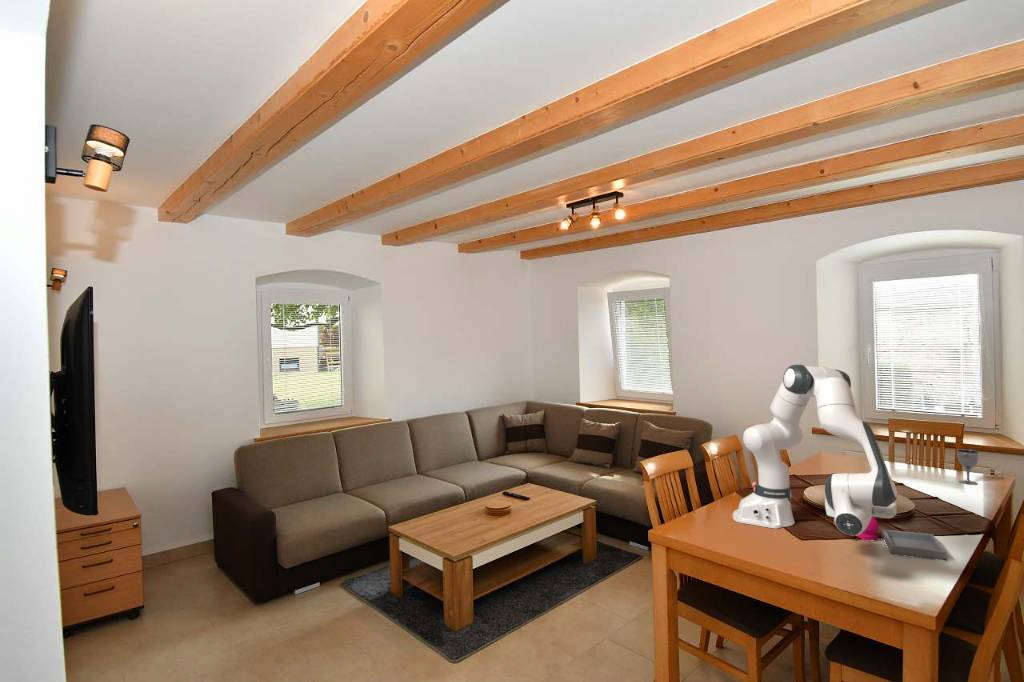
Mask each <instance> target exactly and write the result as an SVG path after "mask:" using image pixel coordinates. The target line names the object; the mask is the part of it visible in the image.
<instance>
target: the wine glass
mask: <svg viewBox="0 0 1024 682" xmlns="http://www.w3.org/2000/svg"><path fill="white" fill-rule="evenodd" d="M956 456H957V460H958V462H959V464H960V465H961V466H962V467H963V468H964V470H965V472H966V479H965V480H958V483H960V484H964V485H970V486H975V485H976V486H977V485H979V483H978V482H976V481H973V480H972V481H971V479H970V473H971V472H970V471H971V470H972V469H973V468H974V467H976V466H977V465H978V462H979V459H980V452H979V451H978V450H974V449H967V448H962V449H961V448H959V449H956Z"/></svg>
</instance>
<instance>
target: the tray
mask: <svg viewBox="0 0 1024 682" xmlns="http://www.w3.org/2000/svg"><path fill="white" fill-rule="evenodd" d="M881 537H883V538H882V540H883V539H884V540H885V541H884V540H883V541H884V543H885V542H886V543H885V545H886V544H887V545H886V547H887V546H888V547H887V549H888V548H889V549H888V550H889V552H890V554H891V555H895V554H897V555H898V556H903V555H906V556H905V557H911V556H913V558H920V557H921V559H928V558H929V560H930V559H931V560H936V559H937V561H939V560H940V561H945V562H948V551H946V549H945V548H944V547H943V545H941V543H940V542H939V540H938V539H937V538H936V536H935V535H934V534H931V533H922V532H910V531H903V530H894V529H884V528H883V529H881ZM897 555H896V556H897Z"/></svg>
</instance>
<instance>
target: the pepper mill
mask: <svg viewBox="0 0 1024 682" xmlns="http://www.w3.org/2000/svg"><path fill="white" fill-rule="evenodd" d="M876 518H877V517H875V516H872V518H871V520H870V522H869V524H868V526H867V528H866V530H865V531H864V532H863V533H861V534H859V535H856V537H857V536H858V537H859V538H861V539H860V540H862V539H864V540H863V541H865V540H876V541H878V531H879V530H880V525H879V522H878V521H877V519H876ZM858 537H857V538H858ZM859 538H858V539H859Z"/></svg>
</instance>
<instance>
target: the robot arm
mask: <svg viewBox="0 0 1024 682" xmlns="http://www.w3.org/2000/svg"><path fill="white" fill-rule="evenodd" d="M851 387H852V382H851V377H850V376H849V374H848V373H846V372H844V371H842V370H839V369H833V368H829V367H825V366H815V365H803V364H792V365H790V366H788V367H787V368H786V369H785V371H784V373H783V378H782V382H781V383H780V386H779V388H778V389H777V391H776V393H775V396H774V397H773V400H772V402H771V404H770V407H769V409H770V412H771V414H772V415H773V418H772V420H771V421H770V422H765V423H760V424H755V425H753V426H750V427H748V428H746V429H745V430H744V431H743V434H742V442H743V445H744V446H745V448H746V449H747V450H748V451H749V452H751V453H752V454H753V457H754V458H755V462H756V465H757V476H758V483H757V482H756V481H753V482H752V483H751V487H752V492H751V493H750V494H749V495H746V496H745V497H743V498H742V499H741V500H740V502H739V504H738V507H737V508H738V509H736V510H734V511H733V512H732V520H734V521H735V522H736V523H741V524H747V525H752V526H757V527H765V528H770V529H776V530H777V529H780V528H785V527H791V526H793V525H794V524H795V523H796V522H795V519H794V516H793V511H792V505H791V501H792V490H791V486H790V468H789V465H787V463H786V462H784V461H782V459H781V457H780V451H784V450H788V449H792V448H794V447H796V446H798V445H800V444H801V443H802V441H803V438H804V437H803V435H804V434H803V431H802V429H801V427H800V422H801V421H800V420H801V418H802V415H803V413H804V411H805V410H806V407H807V405H808V404H809V402H810V399H811V398H815V400H816V411H817V417H818V418H817V419H818V422H819V425H820V426H821V428H822V429H824V431H826V432H827V433H829V434H831V435H833V436H835V437H838V438H843V439H847V440H850V441H854V442H855V443H858V444H860V445H861V446H862V447H863V449H864V450H863V451H864V452H865V455H866V458H867V460H868V464H869V467H870V471H869V472H858V473H855V472H851V473H850V472H846V473H844V472H841V473H832V474H831V475H829V476H828V478H827V479H826V481H825V483H824V509H825V513H826V515H827V516H828V517H832V518H833V519H834V520H833V521H834V525H835V527H836V528H837V529H838V530H839V532H841V533H843V535H844V534H845V535H848V536H857V535H859V534H861V533H863V532H864V531H865V530H866V528H867V526H868V524H869V522H870V520H871V518H872V516H875V518H883V519H892V518H894V517H895V516H897V512H898V510H897V504H896V503H895V501H896V500H897V498H898V490H897V487H896V484H895V482H894V480H893V479H892V477H891V475H890V473H889V470H888V467H887V464H886V462H885V460H884V457H883V454H882V452H881V449H880V446H879V444H878V441H877V438H876V436H875V433H874V431H873V430H872V427H871V426H870V424H869V423H868V422H866V421H863V420H862V419H861V418H860V417H859V416H858V415H859V414H858V413H857V410H856V409H857V408H856V404H855V398H854V396H853V393H852V389H851Z"/></svg>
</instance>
